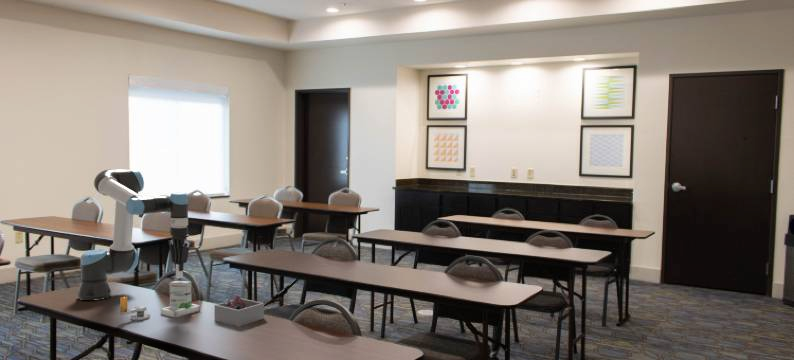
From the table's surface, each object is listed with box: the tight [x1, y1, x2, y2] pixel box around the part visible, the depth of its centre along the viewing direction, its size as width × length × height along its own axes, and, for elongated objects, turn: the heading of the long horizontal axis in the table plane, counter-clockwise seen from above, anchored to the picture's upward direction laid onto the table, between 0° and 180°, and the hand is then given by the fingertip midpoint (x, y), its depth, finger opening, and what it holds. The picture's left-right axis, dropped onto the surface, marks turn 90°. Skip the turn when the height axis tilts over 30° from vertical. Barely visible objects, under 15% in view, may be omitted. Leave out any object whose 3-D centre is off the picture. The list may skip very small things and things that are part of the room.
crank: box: [119, 295, 148, 316], centre depth 270 cm, size 12×5×8 cm, turn 147°
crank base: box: [130, 311, 151, 321], centre depth 274 cm, size 8×8×3 cm
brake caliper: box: [224, 294, 246, 310], centre depth 275 cm, size 11×11×12 cm
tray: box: [160, 303, 201, 319], centre depth 283 cm, size 10×14×2 cm
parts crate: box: [214, 297, 265, 328], centre depth 274 cm, size 15×15×7 cm
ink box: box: [169, 280, 193, 309], centre depth 283 cm, size 9×5×12 cm, turn 84°
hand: (179, 277), depth 282 cm, fingers closed
